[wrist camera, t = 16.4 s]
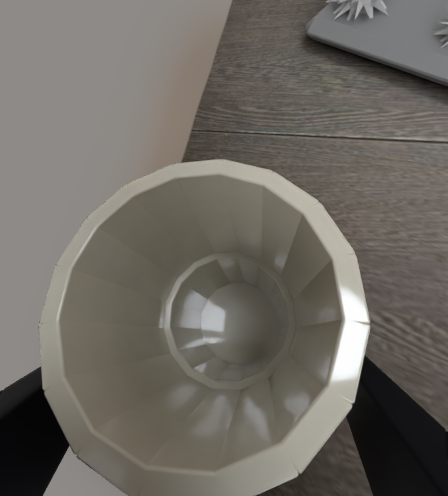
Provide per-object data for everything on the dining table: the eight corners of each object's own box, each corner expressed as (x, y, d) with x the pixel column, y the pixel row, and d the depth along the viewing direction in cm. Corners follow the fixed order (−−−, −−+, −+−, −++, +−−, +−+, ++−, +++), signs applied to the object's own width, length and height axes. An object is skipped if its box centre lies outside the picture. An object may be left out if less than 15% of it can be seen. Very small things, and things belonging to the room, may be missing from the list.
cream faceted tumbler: (308, 321, 16) (448, 284, 4) (241, 399, 15) (168, 650, 3) (238, 258, 19) (198, 120, 7) (175, 321, 18) (-7, 295, 6)
